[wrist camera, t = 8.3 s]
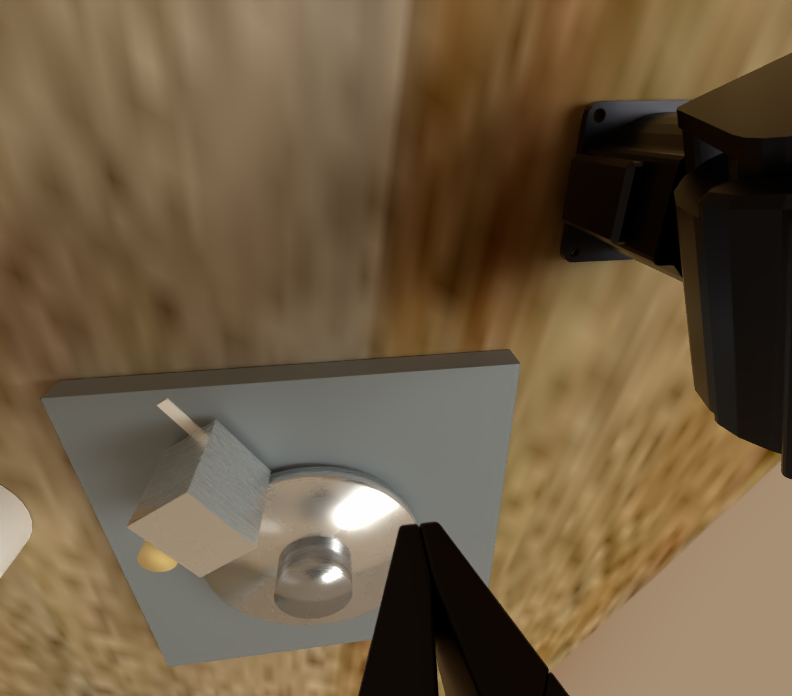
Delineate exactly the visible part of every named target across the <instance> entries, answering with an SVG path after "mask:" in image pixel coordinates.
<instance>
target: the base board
mask: <svg viewBox="0 0 792 696" xmlns="http://www.w3.org/2000/svg"><path fill="white" fill-rule="evenodd" d="M519 371H520V362H519V361H518V360H517V358H516V357H515V356H514V354H513V353H512V352H511V350H496V351H481V352H467V353H452V354H438V355H423V356H409V357H394V358H380V359H365V360H351V361H336V362H322V363H307V364H293V365H278V366H264V367H249V368H234V369H220V370H205V371H191V372H176V373H162V374H147V375H133V376H118V377H104V378H89V379H75V380H60V381H58V382H57V383H56V384H55V385H54V386H53V387H52V388H51V389H50V390H49V391H48V392H47V393H46V394H45V395H43V396H42V397H41V398H40V399H41V401H42V403H43V405H44V408H45V410H46V412H47V414H48V416H49V418H50V420H51V422H52V424H53V426H54V428H55V431H56V433H57V435H58V437H59V439H60V441H61V443H62V445H63V447H64V449H65V451H66V454H67V456H68V458H69V460H70V462H71V464H72V466H73V468H74V470H75V472H76V474H77V477H78V479H79V481H80V483H81V485H82V487H83V489H84V491H85V493H86V495H87V497H88V500H89V502H90V504H91V506H92V508H93V510H94V512H95V514H96V516H97V518H98V520H99V523H100V525H101V527H102V529H103V531H104V533H105V535H106V537H107V539H108V541H109V543H110V546H111V548H112V550H113V552H114V554H115V556H116V558H117V560H118V562H119V564H120V566H121V568H122V571H123V573H124V575H125V577H126V579H127V581H128V583H129V585H130V587H131V589H132V591H133V594H134V596H135V598H136V600H137V602H138V604H139V606H140V608H141V610H142V612H143V614H144V617H145V619H146V621H147V623H148V625H149V627H150V629H151V631H152V633H153V635H154V637H155V640H156V642H157V644H158V646H159V648H160V650H161V652H162V654H163V656H164V658H165V660H166V663H167V665H168V667H171V666H178V665H186V664H193V663H201V662H208V661H216V660H223V659H231V658H238V657H246V656H253V655H260V654H268V653H275V652H283V651H290V650H298V649H305V648H313V647H320V646H328V645H335V644H343V643H350V642H358V641H365V640H372V637H373V633H374V629H375V624H376V620H377V616H378V612H379V608H380V606H379V607H377V608H375V609H373V610H371V611H369V612H367V613H364V614H362V615H359V616H356V617H353V618H350V619H346V620H342V621H338V622H333V623H327V624H317V625H289V624H281V623H274V622H270V621H265V620H261V619H258V618H255V617H252V616H250V615H247V614H245V613H243V612H241V611H239V610H237V609H235V608H234V607H232V606H230V605H229V604H227V603H226V602H225V601H224V600H222V599H221V598H220V597H219V596H218V595H217V594H216V593H215V592H214V591H213V589H212V588H211V586H210V585H209V584H208V582H207V580H206V577H205V575H204V576H203V577H201V578H200V577H198V576H197V575H195V574H194V573H192V572H191V571H189V570H188V569H187V568H185V567H184V566H182V565H181V564H179V563H178V562H176V561H175V560H173V559H172V558H171V557H169V556H168V555H166V554H165V553H163V552H162V551H160V550H159V549H157V548H156V547H155V546H153V545H152V544H150V543H149V542H147V541H146V540H144V539H143V538H141V537H140V536H139V535H137V534H136V533H134V532H133V531H131V530H130V529H128V528H127V525H128V523H129V521H130V519H131V517H132V515H133V513H134V511H135V509H136V508H137V506H138V504H139V502H140V500H141V498H142V496H143V494H144V492H145V490H146V488H147V486H148V484H149V482H150V480H151V478H152V477H153V475H154V473H155V471H156V469H157V467H158V465H159V463H160V461H161V459H162V457H163V455H164V453H165V451H166V449H168V448H169V447H171V446H173V445H174V444H176V443H178V442H179V441H181V440H183V439H185V438H186V437H188V436H190V435H191V434H193V433H195V432H196V431H198V430H200V429H201V428H203V427H205V426H206V425H208V424H210V423H211V422H213V421H215V420H218V421H219V422H220V423H221V424H222V425H223V426H224V427H225V428H226V429H227V430H228V431H229V432H230V433H231V434H232V435H233V436H234V437H236V438H237V439H238V440H239V441H240V442H241V443H242V444H243V445H244V446H245V447H246V448H247V449H248V450H249V451H250V452H251V453H252V454H254V455H255V456H256V457H257V458H258V459H259V460H260V461H261V462H262V463H263V464H264V465H265V466H266V467H267V468H268V469H269V470H270V471H271V473H270V474H273V473H276V472H280V471H284V470H288V469H294V468H301V467H317V466H323V467H337V468H344V469H350V470H354V471H358V472H361V473H365V474H367V475H370V476H372V477H375V478H377V479H379V480H381V481H383V482H385V483H386V484H388V485H389V486H391V487H392V488H394V489H395V490H396V491H398V492H399V493H400V494H401V495H402V496H403V497H404V498H405V499H406V501H407V502H408V504H409V505H410V506H411V508H412V510H413V512H414V514H415V516H416V520H417V523H418V526H419V525H420V524H421V523H425V522H434V521H436V522H438V523H439V524H440V525H441V526H442V527H443V529H444V530H445V531H446V533H447V534H448V535H449V536H450V538H451V539H452V540H453V542H454V543H455V544H456V546H457V547H458V548H459V550H460V551H461V552H462V554H463V555H464V556H465V558H466V559H467V560H468V562H469V563H470V564H471V566H472V567H473V568H474V570H475V571H476V572H477V574H478V575H479V576H480V578H481V579H482V580H483V582H484V583H485V584H486V586H487V587H488V588H489V582H490V575H491V568H492V561H493V554H494V547H495V539H496V532H497V525H498V518H499V511H500V504H501V497H502V490H503V483H504V476H505V469H506V462H507V455H508V448H509V441H510V434H511V427H512V420H513V413H514V406H515V399H516V392H517V385H518V378H519Z"/></svg>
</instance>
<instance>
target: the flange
mask: <svg viewBox="0 0 792 696" xmlns="http://www.w3.org/2000/svg"><path fill="white" fill-rule="evenodd" d="M270 473H271V471H270V470H269V469H268V468H267V467H266V466H265V465H264V464H263V463H262V462H261V461H260V460H259V459H258V458H257V457H256V456H255V455H254V454H252V453H251V452H250V451H249V450H248V449H247V448H246V447H245V446H244V445H243V444H242V443H241V442H240V441H239V440H238V439H237V438H236V437H234V436H233V435H232V434H231V433H230V432H229V431H228V430H227V429H226V428H225V427H224V426H223V425H222V424H221V423H220V422H219V421H218V420H215V421H213V422H211V423H210V424H208V425H206V426H205V427H203V428H201V429H200V430H198V431H196V432H195V433H193V434H191V435H190V436H188V437H186V438H185V439H183V440H181V441H179V442H178V443H176V444H174V445H173V446H171V447H169V448H168V449H166V451H165V453H164V455H163V457H162V459H161V461H160V463H159V465H158V467H157V469H156V471H155V473H154V475H153V477H152V478H151V480H150V482H149V484H148V486H147V488H146V490H145V492H144V494H143V496H142V498H141V500H140V502H139V504H138V506H137V508H136V509H135V511H134V513H133V515H132V517H131V519H130V521H129V523H128V525H127V528H128V529H130V530H131V531H133V532H134V533H136V534H137V535H139V536H140V537H141V538H143V539H144V540H146V541H147V542H149V543H150V544H152V545H153V546H155V547H156V548H157V549H159V550H160V551H162V552H163V553H165V554H166V555H168V556H169V557H171V558H172V559H173V560H175V561H176V562H178V563H179V564H181V565H182V566H184V567H185V568H187V569H188V570H189V571H191V572H192V573H194V574H195V575H197V576H198V577H200V578H201V577H203V576H204V575H205V577H206V580H207V582H208V584H209V585H210V586H211V588H212V589H213V591H214V592H215V593H216V594H217V595H218V596H219V597H220V598H221V599H222V600H224V601H225V602H226V603H227V604H229V605H230V606H232V607H234V608H235V609H237V610H239V611H241V612H243V613H245V614H247V615H250V616H252V617H255V618H258V619H261V620H265V621H270V622H274V623H281V624H289V625H317V624H327V623H333V622H338V621H342V620H346V619H350V618H353V617H356V616H359V615H362V614H364V613H367V612H369V611H371V610H373V609H375V608H377V607H379V606H380V604H381V600H382V596H383V592H384V587H385V583H386V579H387V575H388V571H389V567H390V563H391V559H392V554H393V550H394V546H395V542H396V538H397V534H398V530H399V527H400V526H401V525H407V524H418V523H417V520H416V516H415V514H414V512H413V510H412V508H411V506H410V505H409V504H408V502H407V501H406V499H405V498H404V497H403V496H402V495H401V494H400V493H399V492H398V491H396V490H395V489H394V488H392V487H391V486H389V485H388V484H386V483H385V482H383V481H381V480H379V479H377V478H375V477H372V476H370V475H367V474H365V473H361V472H358V471H354V470H350V469H344V468H337V467H323V466H317V467H301V468H294V469H288V470H284V471H280V472H276V473H273V474H270Z"/></svg>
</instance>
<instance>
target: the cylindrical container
mask: <svg viewBox="0 0 792 696" xmlns="http://www.w3.org/2000/svg"><path fill="white" fill-rule="evenodd" d="M31 532H32V520H31V517H30V514H29V512H28V510H27V509H26V507H25V506H24V504H23V503H22V502H21V501H20V500H19V499H18V498H17V497H16V496H15V495H14V494H13V493H12V492H10V491H9V490H7V489H6V488H4V487H3V486H1V485H0V578H1V577H2V575H3V574H4V572H5V571H6V570H7V568H8V567H9V566H10V564H11V563H12V562H13V560H14V559H15V557H16V556H17V555H18V553H19V552H20V551H21V549H22V548H23V547H24V545H25V544H26V542H27V541H28V540H29V538H30V536H31Z"/></svg>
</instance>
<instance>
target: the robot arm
mask: <svg viewBox="0 0 792 696" xmlns="http://www.w3.org/2000/svg"><path fill="white" fill-rule="evenodd" d="M597 109H599V111H600V118H599V120H598V121H597V122H595V121H594V119H593V115H594V113H595V111H596V110H597ZM562 218H563V220H564V221H565V224H564V230H563V236H562V242H561V248H560V254H561V256H562V257H563V258H564V259H565V260H567V261H569V262H587V261H608V260H628V259H635V260H637V261H639V262H641V263H643V264H645V265H648V266H650V267H652V268H654V269H656V270H658V271H660V272H662V273H665V274H667V275H669V276H671V277H673V278H675V279H677V280H679V281H681V282H683V285H684V295H685V304H686V314H687V324H688V333H689V343H690V353H691V362H692V372H693V379H694V386H695V390H696V392H697V393H698V394H699V396H700V397H701V399H702V400H703V401H704V403H705V404H706V405H707V407H708V408H709V410H711V411H712V412H713V413H714V415H715V421H716V422H717V423H718V424H719V425H720V426H722V427H724V428H725V429H727V430H728V431H730V432H731V433H733V434H734V435H736V436H737V437H739V438H742V439H744V440H746V441H749V442H751V443H753V444H756V445H758V446H761V447H763V448H765V449H768V450H770V451H773V452H777V453H780V454H782V461H781V472H782V474H783V475H784V476H785V477H787V478H789V479H792V53H790V54H788V55H786V56H784V57H782V58H780V59H778V60H776V61H773V62H771V63H769V64H767V65H765V66H763V67H761V68H759V69H757V70H754V71H752V72H750V73H748V74H746V75H744V76H742V77H740V78H738V79H735V80H733V81H731V82H729V83H727V84H725V85H723V86H721V87H719V88H716V89H714V90H712V91H710V92H708V93H706V94H704V95H702V96H700V97H698V98H695V99H693V100H680V101H598V102H593V103H591V104H590V105H588V106H587V108H586V109H585V110H584V113H583V117H582V123H581V129H580V134H579V140H578V146H577V152H576V156H575V157H574V158H573V159H572V161H571V167H570V173H569V179H568V185H567V191H566V197H565V203H564V209H563V215H562ZM574 246H575V247H576V249H575V252H574V253H573V254H570V255H569V251H570V249H571V248H572V247H574ZM436 659H437V662H436ZM437 663H438V667H439V671H440V675H441V679H442V683H443V687H444V691H445V695H446V696H569V695H568V693H567V692H566V691H565V689H564V688H563V687H562V685H561V684H560V683H559V681H558V680H557V679H556V677H555V676H554V675H553V673H551V672H550V673H549V674H548V672H549V669H548V667H547V666H546V664H545V663H544V662H543V660H542V659H541V658H540V656H539V655H538V654H537V652H536V651H535V650H534V648H533V647H532V646H531V644H530V643H529V642H528V640H527V639H526V638H525V636H524V635H523V634H522V632H521V631H520V630H519V628H518V627H517V626H516V624H515V623H514V622H513V620H512V619H511V618H510V616H509V615H508V614H507V612H506V611H505V610H504V608H503V607H502V606H501V604H500V603H499V602H498V600H497V599H496V598H495V596H494V595H493V594H492V592H491V591H490V590H489V588H488V587H487V586H486V584H485V583H484V582H483V580H482V579H481V578H480V576H479V575H478V574H477V572H476V571H475V570H474V568H473V567H472V566H471V564H470V563H469V562H468V560H467V559H466V558H465V556H464V555H463V554H462V552H461V551H460V550H459V548H458V547H457V546H456V544H455V543H454V542H453V540H452V539H451V538H450V536H449V535H448V534H447V533H446V531H445V530H444V529H443V527H442V526H441V525H440V524H439V523H438V522H436V521H434V522H425V523H421V524H420V525H419V526H418V524H407V525H401V526H400V527H399V530H398V534H397V538H396V542H395V546H394V550H393V554H392V559H391V563H390V567H389V571H388V575H387V579H386V583H385V587H384V592H383V596H382V600H381V604H380V608H379V612H378V616H377V620H376V624H375V629H374V633H373V637H372V641H371V645H370V649H369V653H368V657H367V662H366V666H365V670H364V674H363V678H362V682H361V686H360V690H359V694H358V696H439V695H438V679H437Z"/></svg>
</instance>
